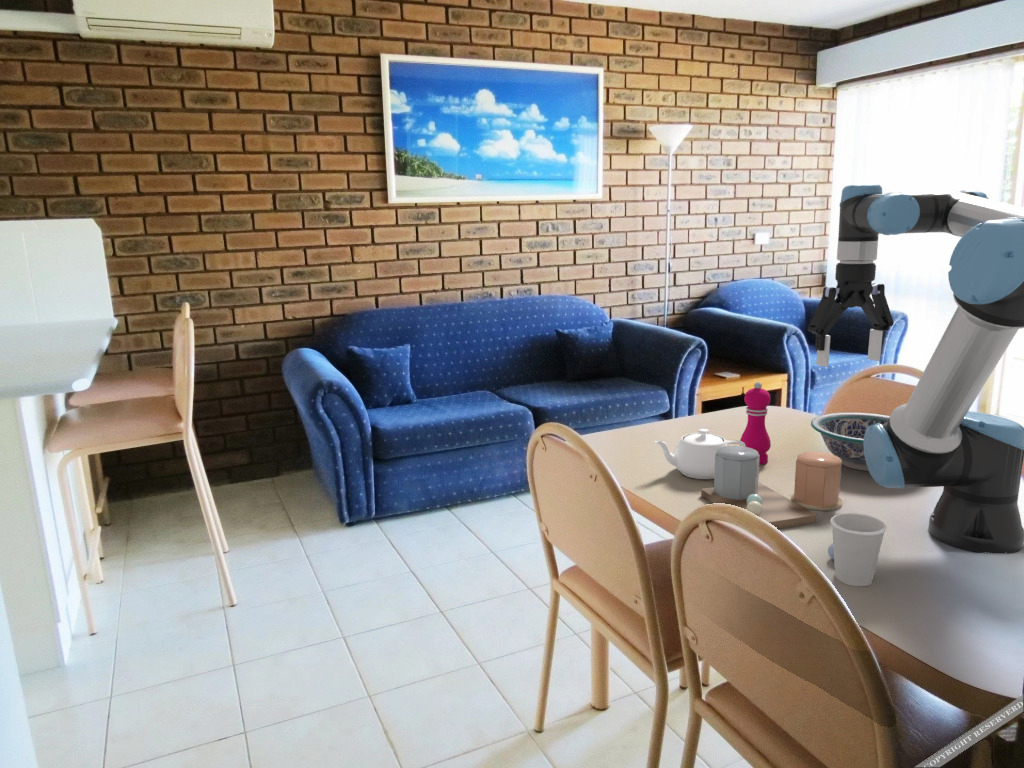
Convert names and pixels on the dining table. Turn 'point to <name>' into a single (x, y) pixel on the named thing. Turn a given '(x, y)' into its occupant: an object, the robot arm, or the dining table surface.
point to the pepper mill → (757, 422)
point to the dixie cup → (856, 547)
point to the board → (769, 507)
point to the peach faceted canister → (817, 479)
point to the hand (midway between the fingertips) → (848, 362)
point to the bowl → (847, 435)
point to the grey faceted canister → (736, 472)
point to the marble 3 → (831, 551)
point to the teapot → (697, 453)
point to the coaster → (818, 506)
